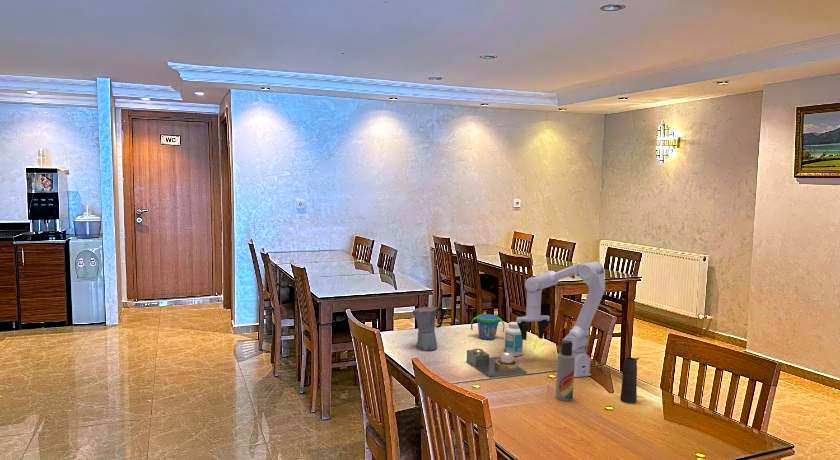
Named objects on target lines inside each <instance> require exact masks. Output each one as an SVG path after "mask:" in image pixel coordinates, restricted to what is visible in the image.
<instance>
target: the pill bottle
mask: <svg viewBox="0 0 840 460" xmlns="http://www.w3.org/2000/svg"><path fill="white" fill-rule="evenodd" d="M504 331H505V332H504V333H505V335H504V348H505V349H506V351H512V352H513V357H519V356H522V354H523V345H524V344H523V343H524V342H523V341H524V340H523V339H522V335H521V331H520V328H519V326H518V324H517V322H516V321H510V322H508V327H506V328H505V330H504Z"/></svg>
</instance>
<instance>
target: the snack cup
mask: <svg viewBox="0 0 840 460" xmlns="http://www.w3.org/2000/svg"><path fill="white" fill-rule="evenodd" d="M474 320H477V328H478V329H477V330H478V337H479V338H480V339H482V340H490V341H492V340H494V339H495V338H496V336H497V331H498V326H499V323H500V322H501V323H502V325H503V327H502V328H503V329H502V333H505V332H504V331H505V323H504V321H503V319H502V318H500V317H499V316H498V315H495V314H488V313H487V314H486V313H483V314H478V315H476V316H475V317H473V318H472V320H471V322H470V330H471V331H473V321H474Z"/></svg>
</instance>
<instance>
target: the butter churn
mask: <svg viewBox="0 0 840 460" xmlns="http://www.w3.org/2000/svg"><path fill="white" fill-rule="evenodd" d="M626 330H627V332H626V333H627V334H626V335H627V343H628V344H627V346H628V347H627V348H628V356H625V357H624V360H623V367H622V377H621V391H620V401H621V402H624V403H625V404H626V403H627V404H636V403H637V401H638V400H637V397H638V396H637V394H638V393H637V387H638V386H637V381H638V380H637V379H638V377H637V376H638V360H639V359H640V357H631V356H632V355H631V344H630V326H629V320H628V319H626Z"/></svg>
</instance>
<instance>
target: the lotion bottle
mask: <svg viewBox="0 0 840 460" xmlns="http://www.w3.org/2000/svg"><path fill="white" fill-rule="evenodd" d="M572 346H573V343H572V341H567V340H564V339H563V340H562V341H561V342H560V352H559V353H557V361H556V362H557V363H556V385H555V398H556V399H557V400H560V401H562V402H564V401H565V402H569V401H572V400H573V399H574V397H573V396H574V380H575V377H574V364H575V356H574V355H573V354H572Z"/></svg>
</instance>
